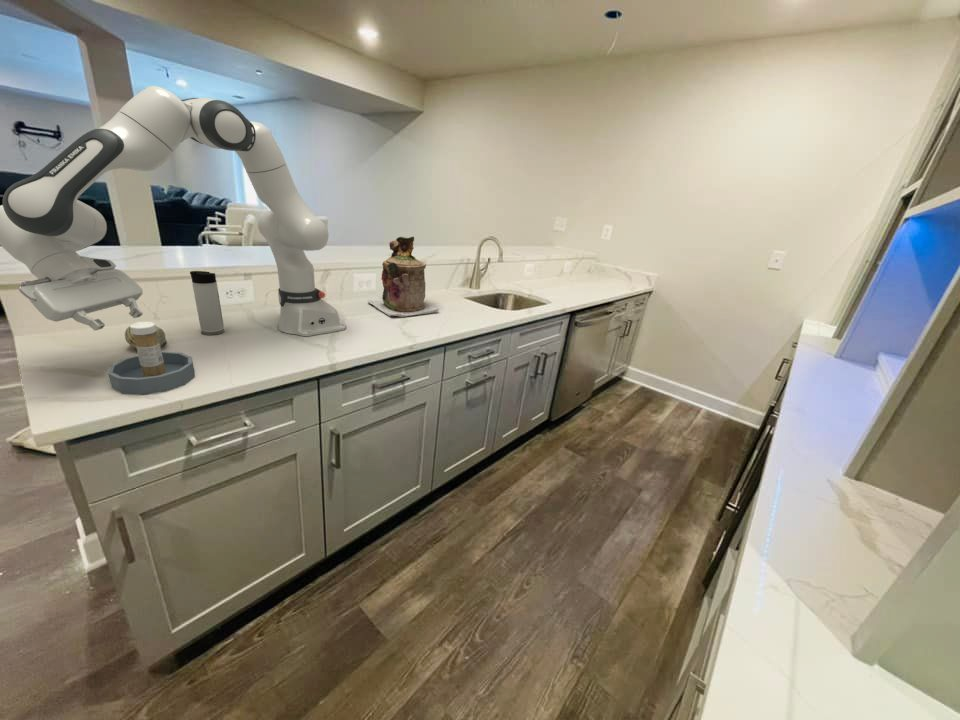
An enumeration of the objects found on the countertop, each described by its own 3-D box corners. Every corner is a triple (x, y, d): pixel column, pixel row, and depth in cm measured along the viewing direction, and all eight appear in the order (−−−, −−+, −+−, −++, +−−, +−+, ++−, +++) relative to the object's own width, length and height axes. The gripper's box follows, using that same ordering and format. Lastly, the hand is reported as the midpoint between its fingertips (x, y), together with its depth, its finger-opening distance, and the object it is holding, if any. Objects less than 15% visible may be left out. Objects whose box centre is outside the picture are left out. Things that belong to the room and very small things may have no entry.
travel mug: (195, 332, 123) (183, 270, 115) (214, 327, 128) (204, 267, 120) (210, 337, 121) (199, 274, 113) (229, 331, 127) (219, 271, 119)
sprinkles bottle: (152, 370, 96) (139, 320, 91) (171, 372, 97) (159, 322, 91) (138, 378, 92) (124, 326, 87) (158, 380, 92) (145, 328, 87)
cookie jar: (412, 299, 189) (415, 231, 176) (441, 313, 172) (446, 240, 159) (365, 303, 173) (365, 229, 161) (391, 319, 157) (393, 239, 144)
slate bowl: (194, 362, 105) (191, 348, 103) (195, 387, 93) (192, 372, 92) (117, 371, 96) (113, 356, 95) (108, 399, 85) (103, 384, 83)
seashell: (145, 334, 115) (153, 308, 112) (173, 353, 116) (182, 327, 113) (110, 344, 106) (118, 316, 102) (140, 364, 107) (150, 337, 103)
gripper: (18, 274, 75) (80, 327, 79) (117, 259, 94) (164, 303, 97) (5, 293, 77) (66, 344, 81) (105, 274, 96) (151, 317, 99)
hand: (120, 321), depth 89 cm, fingers open, 8 cm apart
